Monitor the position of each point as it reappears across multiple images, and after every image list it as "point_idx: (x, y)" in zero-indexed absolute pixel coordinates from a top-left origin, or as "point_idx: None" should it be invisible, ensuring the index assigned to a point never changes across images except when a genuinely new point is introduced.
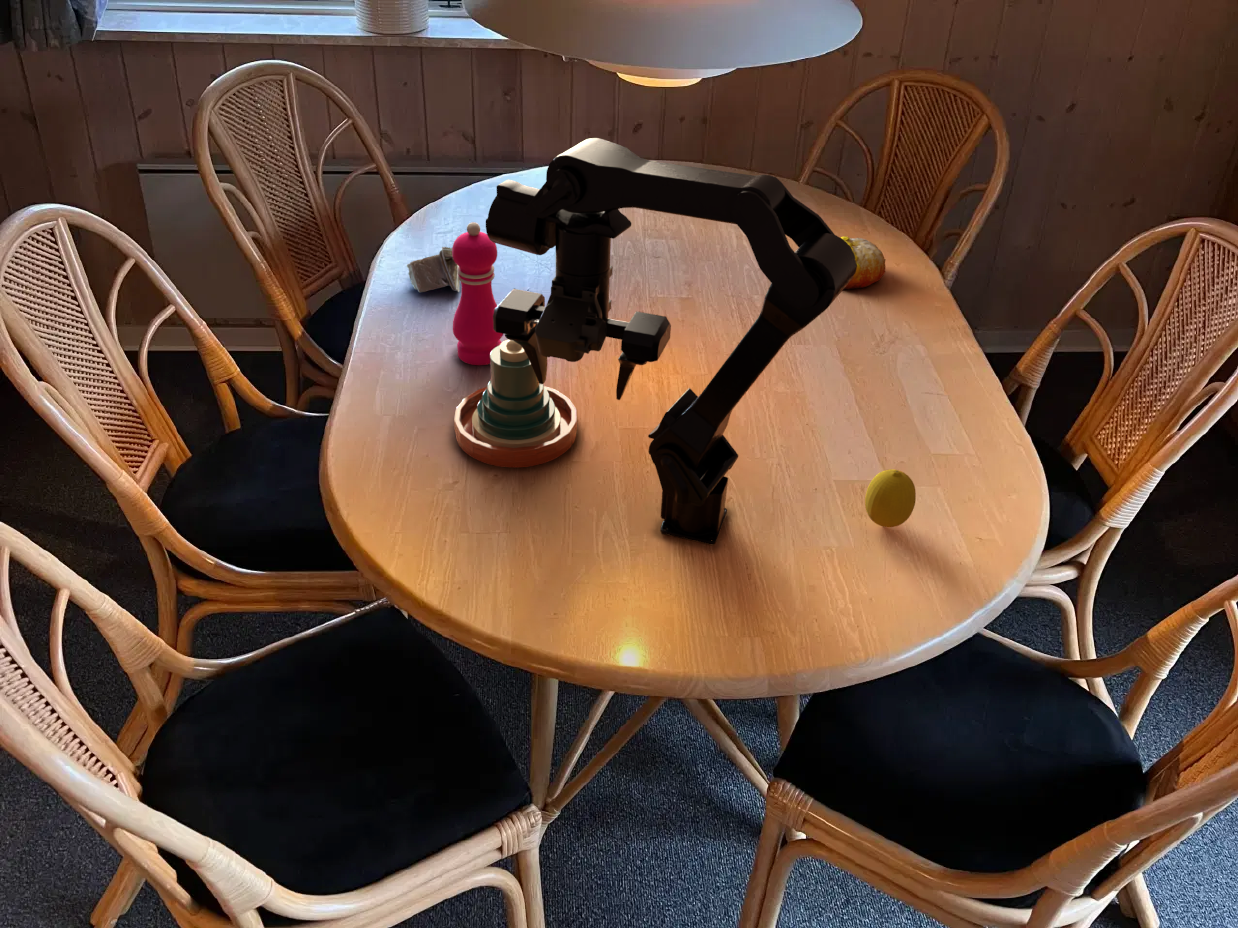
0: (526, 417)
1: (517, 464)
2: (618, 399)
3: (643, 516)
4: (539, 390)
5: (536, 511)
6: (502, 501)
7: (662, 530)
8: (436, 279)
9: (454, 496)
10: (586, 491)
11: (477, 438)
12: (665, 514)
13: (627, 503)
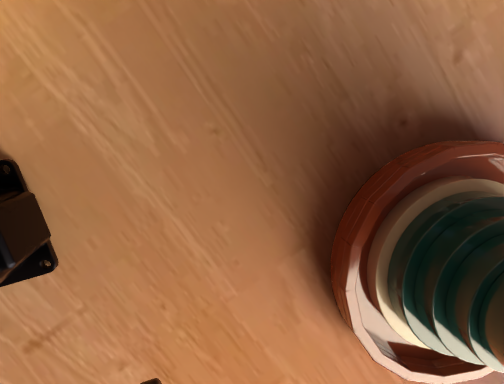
0: (446, 251)
1: (385, 168)
2: (145, 381)
3: (82, 186)
4: (475, 332)
5: (274, 71)
6: (349, 59)
7: (4, 160)
8: None
9: (437, 16)
10: (227, 185)
11: None
12: (10, 194)
13: (135, 202)
